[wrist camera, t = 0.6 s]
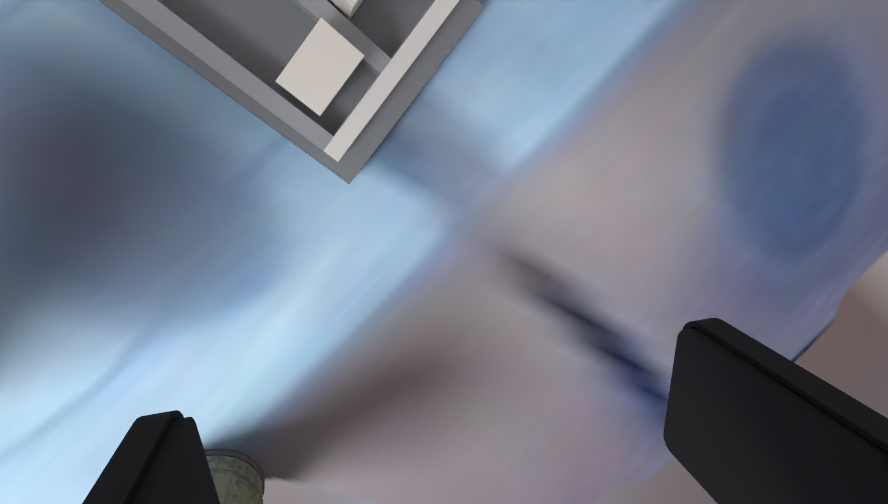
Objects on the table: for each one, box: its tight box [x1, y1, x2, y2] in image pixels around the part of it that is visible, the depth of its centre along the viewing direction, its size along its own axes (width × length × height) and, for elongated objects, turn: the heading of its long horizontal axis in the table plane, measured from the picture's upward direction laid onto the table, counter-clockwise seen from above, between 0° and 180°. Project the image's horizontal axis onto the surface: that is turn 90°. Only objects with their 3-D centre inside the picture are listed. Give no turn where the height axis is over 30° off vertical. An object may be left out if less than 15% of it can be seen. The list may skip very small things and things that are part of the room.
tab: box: [276, 18, 364, 116], centre depth 28 cm, size 3×4×5 cm
